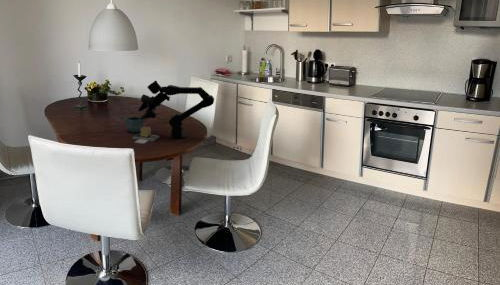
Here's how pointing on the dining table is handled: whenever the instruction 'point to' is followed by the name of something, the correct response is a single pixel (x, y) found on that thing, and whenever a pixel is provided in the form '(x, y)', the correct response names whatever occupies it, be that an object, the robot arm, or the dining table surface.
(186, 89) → the robot arm
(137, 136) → the grey flat frame
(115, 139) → the dining table surface
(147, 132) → the brown wooden block
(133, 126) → the flower pot
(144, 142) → the pad
